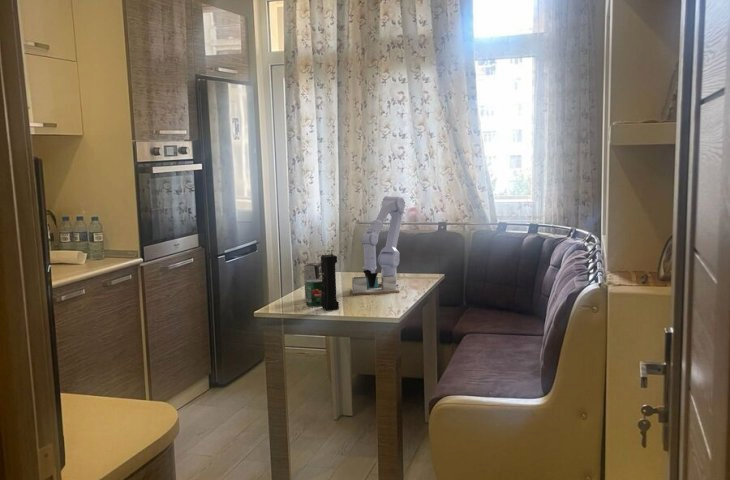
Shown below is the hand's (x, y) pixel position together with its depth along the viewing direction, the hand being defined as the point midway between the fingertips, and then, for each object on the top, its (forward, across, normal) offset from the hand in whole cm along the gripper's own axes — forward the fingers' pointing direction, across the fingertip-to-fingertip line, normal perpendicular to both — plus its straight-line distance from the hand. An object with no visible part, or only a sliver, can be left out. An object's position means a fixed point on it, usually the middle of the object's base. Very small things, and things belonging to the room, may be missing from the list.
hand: (371, 285), depth 331 cm
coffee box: (+2, +16, -29) cm, 33 cm away
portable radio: (+2, +38, -25) cm, 46 cm away
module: (+2, 0, 0) cm, 2 cm away
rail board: (+2, +8, 0) cm, 9 cm away
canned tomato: (+2, +29, -30) cm, 42 cm away
